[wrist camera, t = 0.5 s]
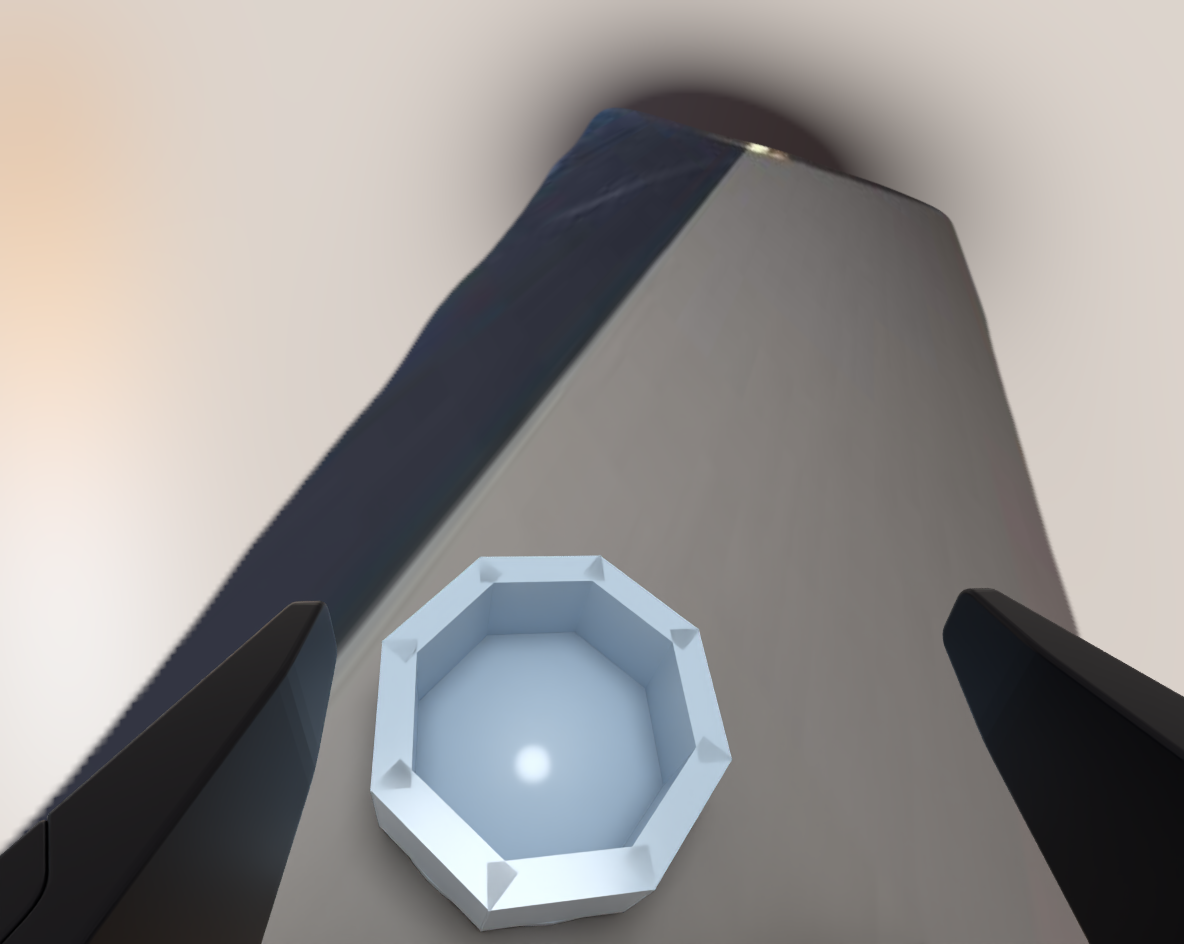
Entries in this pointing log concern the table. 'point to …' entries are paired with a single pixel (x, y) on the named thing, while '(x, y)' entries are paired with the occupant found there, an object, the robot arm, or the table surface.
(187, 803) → the robot arm
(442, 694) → the bowl
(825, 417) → the table surface
